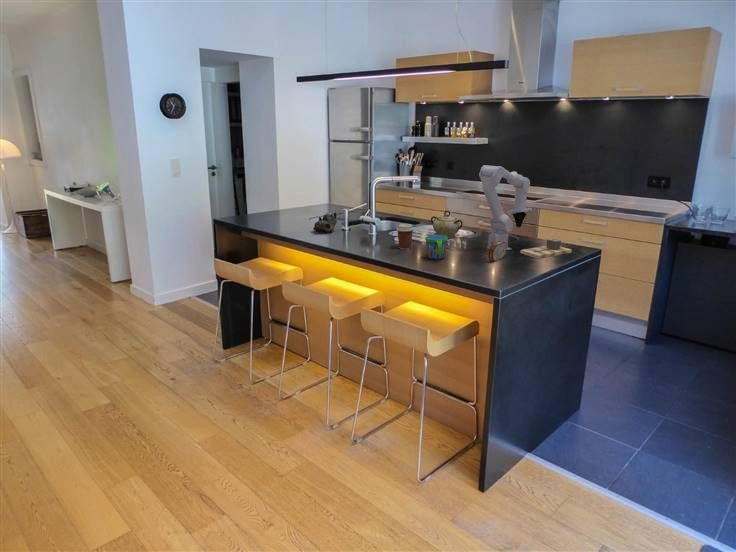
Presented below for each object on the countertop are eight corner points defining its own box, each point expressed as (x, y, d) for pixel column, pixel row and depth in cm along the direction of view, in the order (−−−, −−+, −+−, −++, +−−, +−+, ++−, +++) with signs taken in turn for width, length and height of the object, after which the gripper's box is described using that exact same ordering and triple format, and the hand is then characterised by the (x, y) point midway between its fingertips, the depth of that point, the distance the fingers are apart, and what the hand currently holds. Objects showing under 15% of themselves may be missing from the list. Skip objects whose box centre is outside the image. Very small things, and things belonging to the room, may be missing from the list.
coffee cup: (415, 246, 267) (415, 223, 263) (412, 250, 258) (412, 227, 255) (398, 245, 269) (398, 223, 265) (394, 249, 261) (394, 226, 257)
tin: (501, 255, 246) (502, 238, 244) (507, 256, 244) (508, 239, 242) (486, 262, 235) (487, 244, 233) (493, 263, 233) (494, 245, 231)
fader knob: (554, 249, 248) (555, 241, 247) (546, 247, 252) (547, 239, 251) (560, 248, 250) (561, 240, 248) (552, 246, 254) (552, 238, 253)
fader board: (538, 258, 240) (538, 255, 239) (520, 253, 250) (520, 249, 249) (571, 252, 249) (571, 249, 249) (552, 247, 259) (553, 244, 259)
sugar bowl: (467, 236, 286) (469, 209, 282) (455, 241, 275) (456, 214, 270) (437, 232, 298) (437, 206, 293) (424, 237, 286) (424, 210, 282)
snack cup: (423, 253, 252) (424, 233, 249) (444, 253, 252) (445, 233, 249) (426, 262, 237) (427, 241, 234) (449, 262, 237) (450, 240, 234)
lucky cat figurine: (312, 230, 309) (319, 208, 310) (330, 237, 311) (338, 215, 312) (313, 227, 294) (322, 205, 295) (333, 235, 296) (341, 213, 297)
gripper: (514, 203, 253) (512, 229, 257) (536, 200, 259) (534, 226, 263) (505, 201, 259) (503, 227, 263) (527, 198, 265) (525, 224, 269)
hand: (518, 226), depth 263 cm, fingers closed
